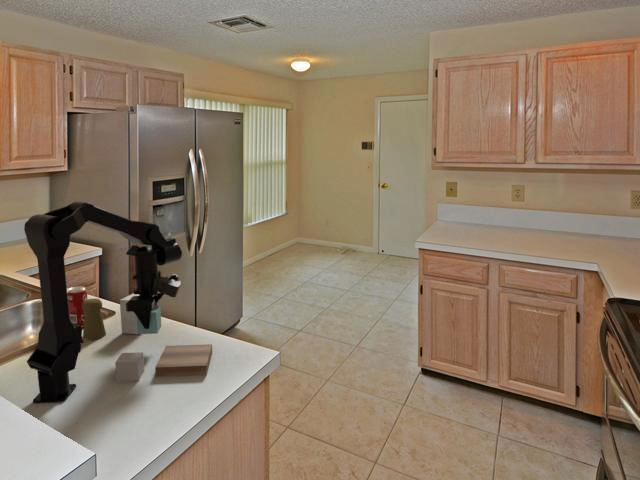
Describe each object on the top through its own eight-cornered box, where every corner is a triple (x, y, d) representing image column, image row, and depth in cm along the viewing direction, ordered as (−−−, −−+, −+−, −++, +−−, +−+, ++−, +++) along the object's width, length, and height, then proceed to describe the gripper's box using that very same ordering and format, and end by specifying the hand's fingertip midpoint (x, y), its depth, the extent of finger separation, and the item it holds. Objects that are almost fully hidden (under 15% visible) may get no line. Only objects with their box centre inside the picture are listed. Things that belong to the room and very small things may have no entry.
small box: (138, 335, 128) (136, 301, 126) (121, 333, 129) (118, 299, 127) (153, 325, 136) (151, 292, 134) (137, 323, 137) (135, 291, 135)
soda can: (85, 321, 138) (82, 284, 136) (92, 325, 135) (89, 288, 132) (67, 325, 134) (64, 288, 132) (74, 330, 131) (71, 292, 128)
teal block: (157, 333, 117) (156, 312, 116) (137, 334, 116) (136, 312, 115) (161, 326, 122) (160, 305, 121) (142, 326, 121) (141, 306, 120)
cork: (83, 333, 129) (80, 297, 127) (106, 330, 131) (103, 295, 129) (82, 341, 124) (78, 304, 121) (106, 338, 126) (103, 301, 124)
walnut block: (206, 376, 107) (206, 365, 106) (155, 378, 105) (155, 367, 105) (212, 354, 119) (212, 344, 118) (166, 356, 117) (166, 345, 116)
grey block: (138, 381, 103) (137, 361, 102) (116, 382, 103) (115, 362, 102) (144, 370, 108) (143, 352, 107) (123, 371, 108) (121, 353, 107)
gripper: (170, 278, 108) (173, 338, 111) (183, 260, 126) (185, 311, 129) (123, 279, 106) (127, 339, 109) (143, 260, 124) (146, 312, 128)
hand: (149, 324), depth 119 cm, fingers closed on teal block, 5 cm apart
